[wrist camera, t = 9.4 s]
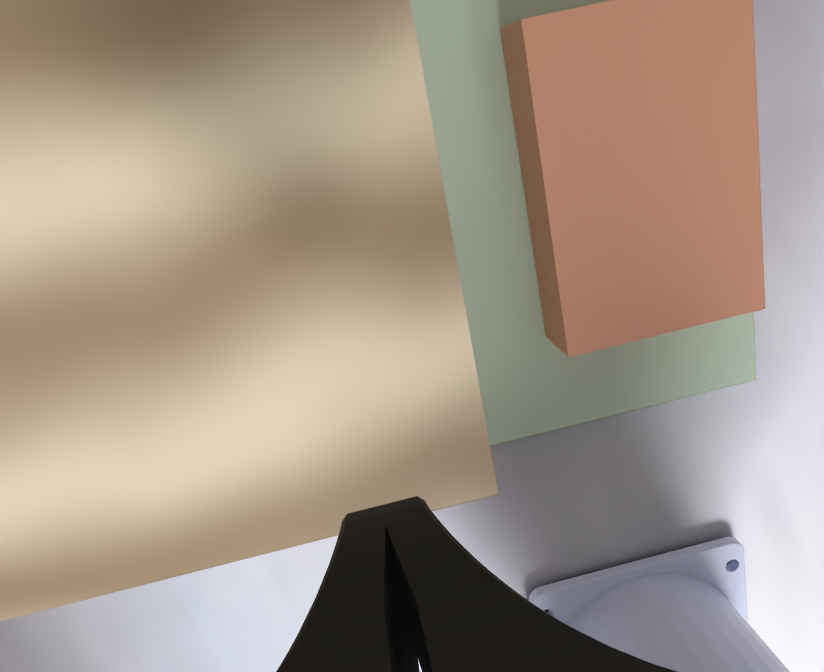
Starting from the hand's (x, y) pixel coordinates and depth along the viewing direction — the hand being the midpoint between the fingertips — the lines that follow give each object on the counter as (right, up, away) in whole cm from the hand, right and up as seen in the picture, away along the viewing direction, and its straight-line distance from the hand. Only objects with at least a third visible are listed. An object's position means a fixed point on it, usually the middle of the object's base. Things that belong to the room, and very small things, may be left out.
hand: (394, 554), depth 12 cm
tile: (+7, +8, +7) cm, 13 cm away
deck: (-7, +5, +8) cm, 12 cm away
